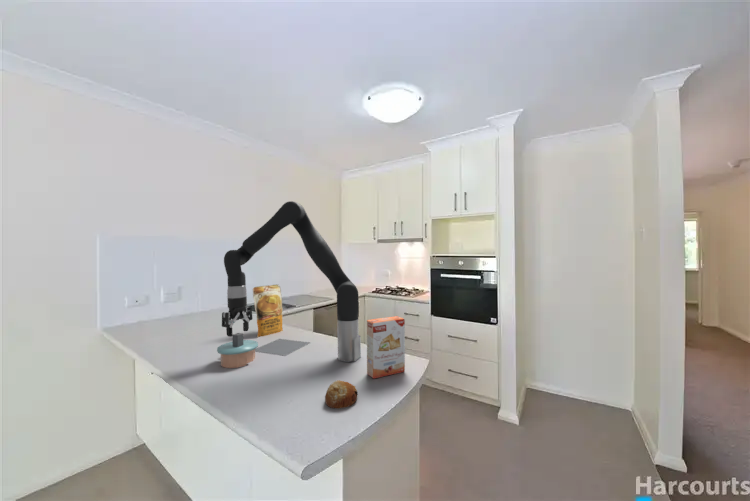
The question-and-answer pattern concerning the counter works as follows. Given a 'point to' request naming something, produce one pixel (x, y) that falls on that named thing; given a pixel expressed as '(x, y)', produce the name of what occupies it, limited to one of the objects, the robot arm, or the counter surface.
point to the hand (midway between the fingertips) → (238, 333)
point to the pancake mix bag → (268, 309)
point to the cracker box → (385, 346)
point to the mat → (281, 347)
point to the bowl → (237, 359)
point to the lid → (237, 345)
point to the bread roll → (340, 395)
